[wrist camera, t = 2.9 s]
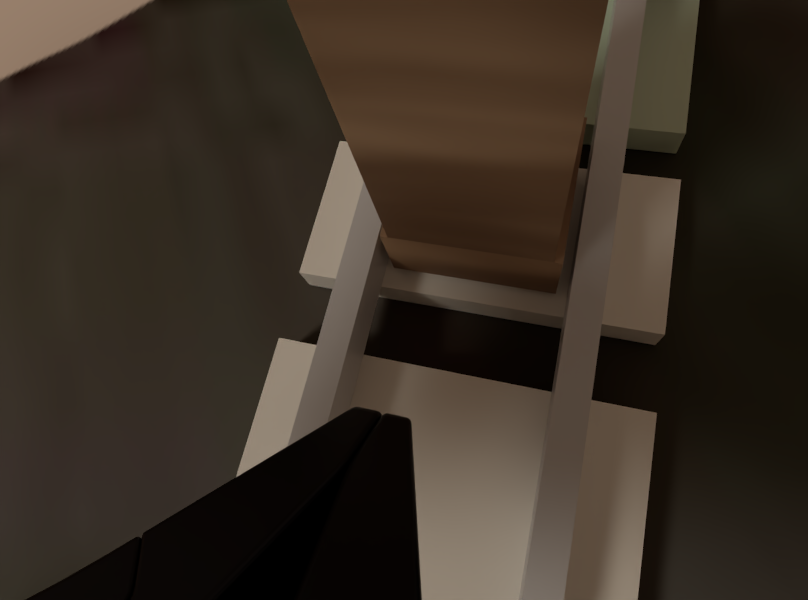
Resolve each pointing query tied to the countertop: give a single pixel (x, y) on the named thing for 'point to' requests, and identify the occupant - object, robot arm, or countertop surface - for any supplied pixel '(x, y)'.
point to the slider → (463, 124)
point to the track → (502, 402)
